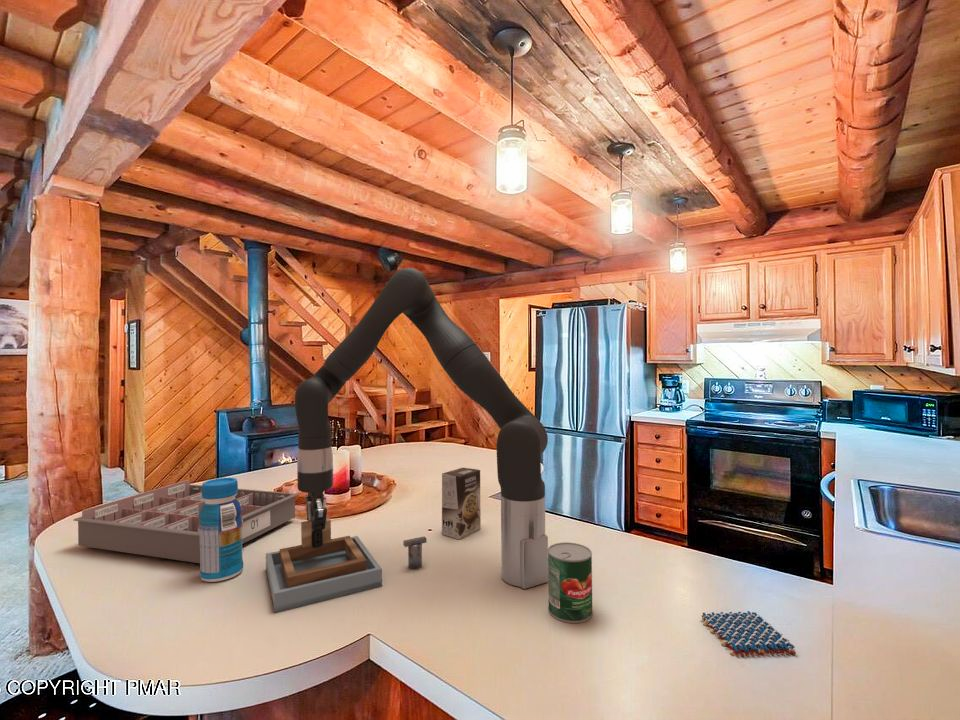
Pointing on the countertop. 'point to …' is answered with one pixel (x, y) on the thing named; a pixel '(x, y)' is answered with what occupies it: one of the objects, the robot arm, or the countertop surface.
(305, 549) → the wooden frame with tab
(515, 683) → the countertop surface
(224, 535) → the beverage bottle
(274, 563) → the tray
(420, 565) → the grey metal t-shaped piece
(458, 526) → the coffee box
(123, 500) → the organizer tray
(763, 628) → the woven mat
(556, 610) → the canned tomato
